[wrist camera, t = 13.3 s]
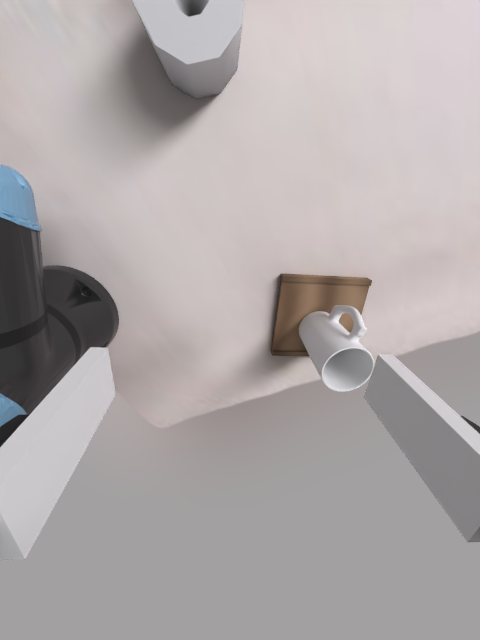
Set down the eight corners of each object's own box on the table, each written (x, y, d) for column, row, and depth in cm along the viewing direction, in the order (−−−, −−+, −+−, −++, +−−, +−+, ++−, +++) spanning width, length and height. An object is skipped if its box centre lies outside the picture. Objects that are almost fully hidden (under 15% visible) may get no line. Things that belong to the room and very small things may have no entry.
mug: (325, 349, 45) (358, 396, 34) (290, 340, 44) (312, 385, 33) (352, 297, 41) (399, 331, 31) (315, 285, 40) (349, 317, 29)
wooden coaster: (270, 350, 46) (272, 355, 45) (281, 273, 40) (283, 276, 39) (346, 352, 47) (350, 357, 46) (367, 277, 42) (372, 280, 40)
